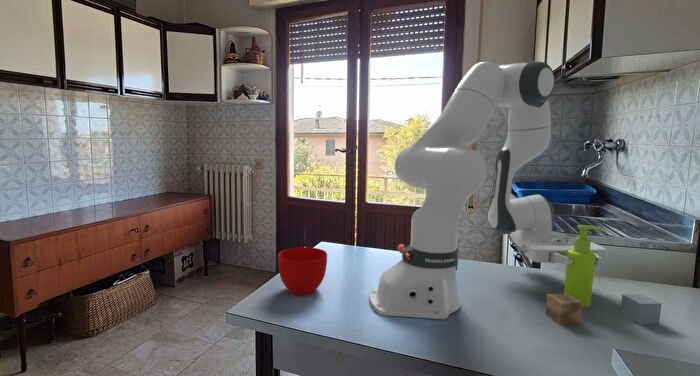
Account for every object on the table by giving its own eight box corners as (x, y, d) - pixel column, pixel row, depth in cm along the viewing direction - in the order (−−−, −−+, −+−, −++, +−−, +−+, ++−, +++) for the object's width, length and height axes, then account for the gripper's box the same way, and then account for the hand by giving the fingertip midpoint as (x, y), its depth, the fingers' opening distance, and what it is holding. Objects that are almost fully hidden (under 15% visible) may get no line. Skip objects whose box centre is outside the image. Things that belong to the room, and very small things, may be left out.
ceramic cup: (337, 279, 105) (338, 245, 104) (316, 303, 89) (316, 264, 88) (296, 274, 109) (296, 241, 108) (268, 296, 93) (268, 258, 91)
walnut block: (559, 324, 81) (561, 303, 80) (545, 314, 86) (547, 294, 85) (580, 324, 81) (582, 302, 81) (565, 313, 86) (567, 293, 86)
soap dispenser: (595, 310, 88) (604, 229, 86) (562, 303, 92) (570, 226, 89) (594, 302, 93) (602, 225, 91) (563, 295, 97) (570, 222, 94)
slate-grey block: (638, 325, 82) (640, 303, 81) (620, 314, 86) (622, 294, 86) (658, 324, 82) (661, 303, 81) (639, 314, 87) (641, 294, 86)
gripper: (516, 235, 103) (546, 249, 89) (584, 235, 104) (624, 249, 91) (514, 257, 103) (544, 274, 90) (582, 257, 105) (622, 273, 91)
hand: (585, 262), depth 90 cm, fingers open, 7 cm apart
